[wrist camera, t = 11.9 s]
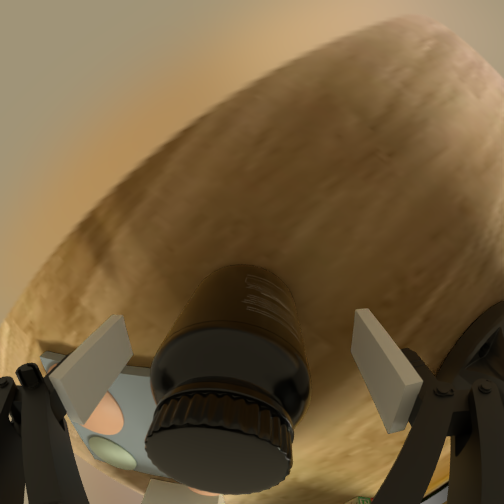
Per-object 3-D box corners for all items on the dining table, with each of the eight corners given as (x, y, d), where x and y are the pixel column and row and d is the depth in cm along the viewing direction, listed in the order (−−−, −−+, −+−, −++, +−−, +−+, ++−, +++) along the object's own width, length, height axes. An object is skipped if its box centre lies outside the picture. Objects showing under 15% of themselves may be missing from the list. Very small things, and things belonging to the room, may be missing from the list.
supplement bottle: (176, 283, 18) (74, 402, 6) (273, 245, 17) (287, 359, 6) (219, 365, 19) (182, 507, 8) (308, 336, 19) (344, 487, 7)
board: (275, 371, 19) (277, 421, 14) (275, 477, 23) (276, 514, 18) (43, 350, 21) (13, 375, 16) (95, 451, 24) (80, 478, 19)
